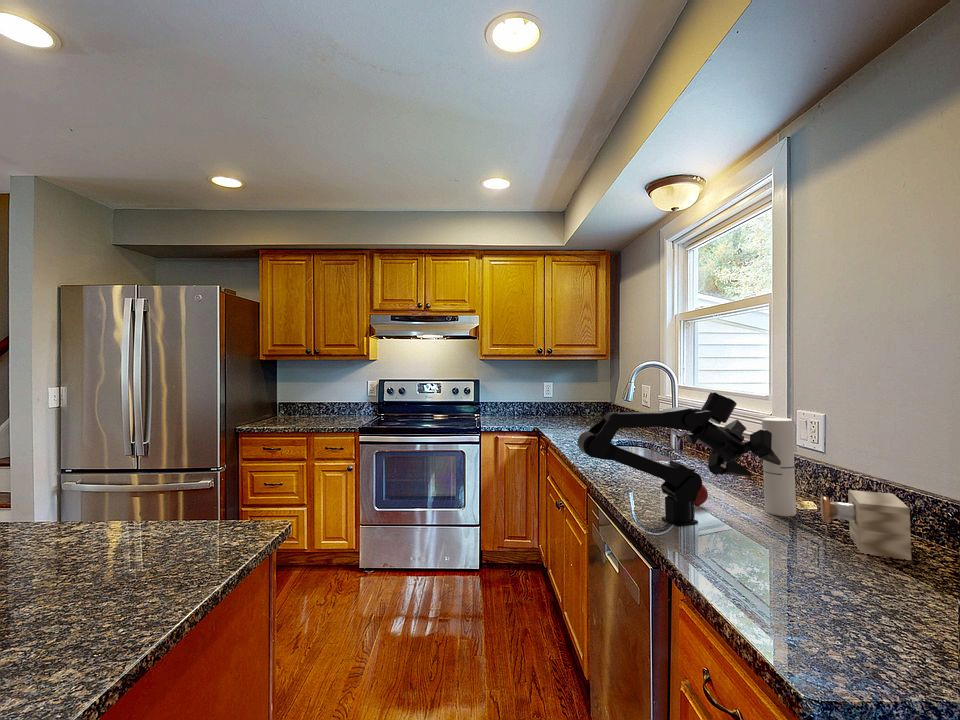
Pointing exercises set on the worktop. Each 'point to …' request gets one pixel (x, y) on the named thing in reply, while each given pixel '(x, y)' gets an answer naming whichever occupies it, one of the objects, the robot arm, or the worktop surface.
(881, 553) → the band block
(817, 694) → the worktop surface
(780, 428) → the cylindrical container
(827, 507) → the peg
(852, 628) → the worktop surface
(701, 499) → the onion
